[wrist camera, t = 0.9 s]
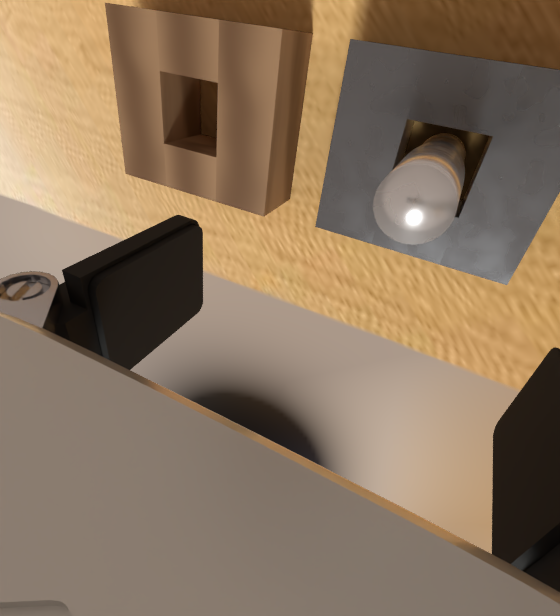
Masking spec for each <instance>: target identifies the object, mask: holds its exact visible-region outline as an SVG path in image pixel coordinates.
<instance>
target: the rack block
mask: <svg viewBox="0 0 560 616" xmlns="http://www.w3.org/2000/svg"><path fill="white" fill-rule="evenodd" d="M105 6H106V15H107V23H108V31H109V39H110V48H111V56H112V64H113V72H114V81H115V89H116V97H117V105H118V114H119V122H120V130H121V139H122V147H123V155H124V163H125V172H126V174H128V175H132V176H135V177H138V178H141V179H145V180H148V181H151V182H154V183H157V184H161V185H164V186H167V187H170V188H174V189H177V190H180V191H183V192H187V193H190V194H193V195H196V196H199V197H203V198H206V199H209V200H212V201H216V202H219V203H222V204H225V205H229V206H232V207H235V208H238V209H241V210H245V211H248V212H251V213H254V214H258V215H261V216H265V215H267V214H268V213H270V212H271V211H273V210H274V209H276V208H277V207H279V206H280V205H282V204H283V203H285V202H286V201H288V200H289V199H290V194H291V187H292V180H293V173H294V165H295V158H296V151H297V144H298V136H299V129H300V122H301V115H302V107H303V100H304V93H305V85H306V78H307V71H308V64H309V56H310V49H311V42H312V35H313V33H306V32H299V31H293V30H286V29H279V28H273V27H266V26H259V25H252V24H245V23H239V22H232V21H225V20H218V19H212V18H205V17H198V16H191V15H184V14H178V13H171V12H164V11H157V10H151V9H144V8H137V7H130V6H123V5H117V4H110V3H105ZM200 79H202V80H206V81H211V82H216V83H218V102H217V138H213V137H209V136H205V135H201V134H200Z"/></svg>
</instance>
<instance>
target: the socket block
mask: <svg viewBox="0 0 560 616" xmlns="http://www.w3.org/2000/svg"><path fill="white" fill-rule="evenodd" d="M414 121H420V122H425V123H430V124H435V125H440V126H445V127H450V128H455V129H460V130H464V131H469V132H474V133H479V134H484V135H489V136H490V137H489V139H488V141H487V144H486V146H485V149H484V151H483V153H482V156H481V158H480V161H479V163H478V165H477V168H476V170H475V173H474V175H473V177H472V180H471V182H470V185H469V187H468V189H467V192H466V194H465V197H464V199H463V201H462V200H459V203H458V207H457V211H456V214H455V217H454V220H453V222H452V223H451V225H450V226H449V228H448V229H447V230H446V231H445V232H444V233H443V234H442V235H440V236H439V237H438V238H436V239H434V240H432V241H429V242H427V243H423V244H416V245H411V244H404V243H400V242H397V241H395V240H393V239H391V238H390V237H388V236H387V235H386V234H385V233H384V232H383V231H382V230H381V229H380V227H379V226H378V224H377V222H376V220H375V217H374V212H373V201H374V196H375V193H376V191H377V189H378V187H379V185H380V184H381V182H382V181H383V180H384V179H385V178H386V177H387V175H388V174H389V173H390V172H391V171H392V170H393V169H394V168H395V167H396V166H397V165H398V164H399V163H400V162H401V161H402V159H403V158H404V155H405V151H406V148H407V145H408V141H409V138H410V135H411V131H412V128H413V125H414ZM559 192H560V70H556V69H549V68H543V67H536V66H529V65H522V64H516V63H509V62H502V61H495V60H489V59H482V58H475V57H468V56H461V55H455V54H448V53H441V52H434V51H428V50H421V49H414V48H407V47H401V46H394V45H387V44H380V43H373V42H367V41H360V40H353V39H350V45H349V50H348V55H347V61H346V66H345V71H344V77H343V82H342V87H341V93H340V98H339V103H338V109H337V114H336V119H335V125H334V130H333V135H332V141H331V146H330V152H329V157H328V162H327V168H326V173H325V178H324V184H323V189H322V194H321V200H320V205H319V210H318V216H317V221H316V226H315V227H318V228H322V229H325V230H328V231H331V232H335V233H338V234H341V235H344V236H348V237H351V238H354V239H358V240H361V241H364V242H367V243H371V244H374V245H377V246H381V247H384V248H387V249H390V250H394V251H397V252H400V253H403V254H407V255H410V256H413V257H417V258H420V259H423V260H426V261H430V262H433V263H436V264H440V265H443V266H446V267H449V268H453V269H456V270H459V271H463V272H466V273H469V274H472V275H476V276H479V277H482V278H485V279H489V280H492V281H495V282H499V283H502V284H505V285H507V284H508V282H509V281H510V279H511V277H512V275H513V273H514V272H515V270H516V268H517V266H518V265H519V263H520V261H521V259H522V257H523V256H524V254H525V252H526V250H527V249H528V247H529V245H530V243H531V242H532V240H533V238H534V236H535V234H536V233H537V231H538V229H539V227H540V226H541V224H542V222H543V220H544V219H545V217H546V215H547V213H548V211H549V210H550V208H551V206H552V204H553V203H554V201H555V199H556V197H557V196H558V194H559Z"/></svg>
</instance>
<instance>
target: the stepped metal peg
mask: <svg viewBox="0 0 560 616" xmlns="http://www.w3.org/2000/svg"><path fill="white" fill-rule="evenodd" d="M465 155H466V152H465V147H464V145H463V143H462V141H461V140H460V139H459V138H458V137H456V136H454V135H452V134H448V133H441V134H437V135H434V136H432V137H430V138H429V139H427V140H426V141H425V142H424V143H423V144H422V145H421V146H418V147H416V148H415V149H413V150H412V151H410V152H409V153H408V154H407V155H406V156H405V157H404V158H403V159H402V161H401V162H400V163H399V164H398V165H397V166H396V167H395V168H394V169H393V170H392V171H391V172H390V173H389V174H388V175H387V177H386V178H385V179H384V180H383V181H382V182H381V184H380V185H379V187H378V189H377V191H376V193H375V196H374V201H373V212H374V217H375V220H376V222H377V224H378V226H379V227H380V229H381V230H382V231H383V232H384V233H385V234H386V235H387V236H388V237H390V238H391V239H393V240H395V241H397V242H400V243H404V244H411V245H416V244H423V243H427V242H429V241H432V240H434V239H436V238H438V237H439V236H440V235H442V234H443V233H444V232H445V231H446V230H447V229H448V228H449V226H450V225H451V223H452V222H453V220H454V217H455V214H456V211H457V207H458V203H459V199H460V195H461V192H462V188H463V184H464V179H465V166H464V161H465Z"/></svg>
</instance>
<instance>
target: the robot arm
mask: <svg viewBox="0 0 560 616" xmlns="http://www.w3.org/2000/svg"><path fill="white" fill-rule="evenodd" d="M62 272H63V275H64V279H65V282H64V283H62V284H60V285H59V283H58V280H57V279H56V278H55V277H54V276H53V275H51V274H49V273H44V272H36V271H30V272H20V273H16V274H12V275H9V276H6V277H4V278H1V279H0V616H560V349H559V348H556V347H555V348H553V349H551V350H550V352H549V353H548V354H547V356H546V357H545V358H544V360H543V361H542V362H541V364H540V365H539V367H538V368H537V369H536V371H535V372H534V373H533V375H532V376H531V377H530V379H529V380H528V382H527V383H526V384H525V386H524V387H523V388H522V390H521V391H520V392H519V394H518V395H517V397H516V398H515V399H514V401H513V402H512V403H511V405H510V406H509V407H508V409H507V410H506V412H505V413H504V414H503V416H502V417H501V418H500V420H499V421H498V423H497V425H496V427H495V430H494V434H493V504H492V505H493V506H492V511H493V512H492V554H490V553H488V552H486V551H485V550H483V549H481V548H479V547H477V546H475V545H473V544H471V543H469V542H467V541H465V540H464V539H462V538H460V537H458V536H456V535H454V534H452V533H450V532H448V531H447V530H445V529H443V528H441V527H439V526H437V525H435V524H433V523H431V522H429V521H428V520H425V519H424V518H422V517H420V516H418V515H416V514H414V513H412V512H410V511H408V510H406V509H404V508H402V507H401V506H399V505H397V504H395V503H393V502H390V501H389V500H387V499H385V498H383V497H381V496H379V495H377V494H375V493H373V492H371V491H369V490H367V489H365V488H363V487H361V486H359V485H357V484H355V483H353V482H351V481H349V480H347V479H345V478H343V477H341V476H339V475H337V474H336V473H334V472H332V471H330V470H328V469H326V468H323V467H322V466H320V465H318V464H316V463H314V462H312V461H310V460H308V459H306V458H304V457H302V456H300V455H298V454H296V453H294V452H292V451H290V450H288V449H286V448H284V447H282V446H280V445H278V444H276V443H274V442H272V441H270V440H268V439H266V438H264V437H262V436H260V435H258V434H256V433H254V432H252V431H250V430H248V429H246V428H244V427H243V426H241V425H238V424H237V423H234V422H232V421H231V420H229V419H227V418H225V417H222V416H220V415H218V414H217V413H215V412H213V411H210V410H208V409H206V408H204V407H202V406H200V405H199V404H197V403H195V402H192V401H190V400H189V399H187V398H185V397H183V396H181V395H178V394H177V393H175V392H172V391H171V390H169V389H167V388H165V387H162V386H160V385H158V384H156V383H154V382H152V381H150V380H148V379H146V378H144V377H142V376H140V375H138V374H136V373H134V372H132V371H130V369H132V368H133V367H134V366H135V365H136V364H137V363H139V362H140V361H141V360H142V359H143V358H145V357H146V356H147V355H148V354H149V353H151V352H152V351H153V350H154V349H155V348H157V347H158V346H159V345H160V344H161V343H163V342H164V341H165V340H166V339H167V338H168V337H170V336H171V335H172V334H173V333H174V332H176V331H177V330H178V329H179V328H180V327H182V326H183V325H184V324H185V323H186V322H187V321H189V320H190V319H191V318H192V317H193V316H195V315H196V314H197V313H198V312H199V311H200V309H201V307H202V304H203V232H202V229H201V228H200V227H199V224H198V222H197V221H196V220H193V219H190V218H187V217H184V216H181V215H176V216H174V217H171V218H169V219H167V220H165V221H163V222H161V223H159V224H157V225H155V226H153V227H151V228H149V229H146V230H144V231H142V232H140V233H138V234H136V235H134V236H132V237H130V238H128V239H126V240H124V241H121V242H119V243H118V244H115V245H113V246H111V247H109V248H107V249H105V250H103V251H101V252H99V253H97V254H95V255H92V256H90V257H88V258H86V259H84V260H82V261H80V262H78V263H76V264H74V265H72V266H69V267H67V268H65V269H63V270H62Z"/></svg>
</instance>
